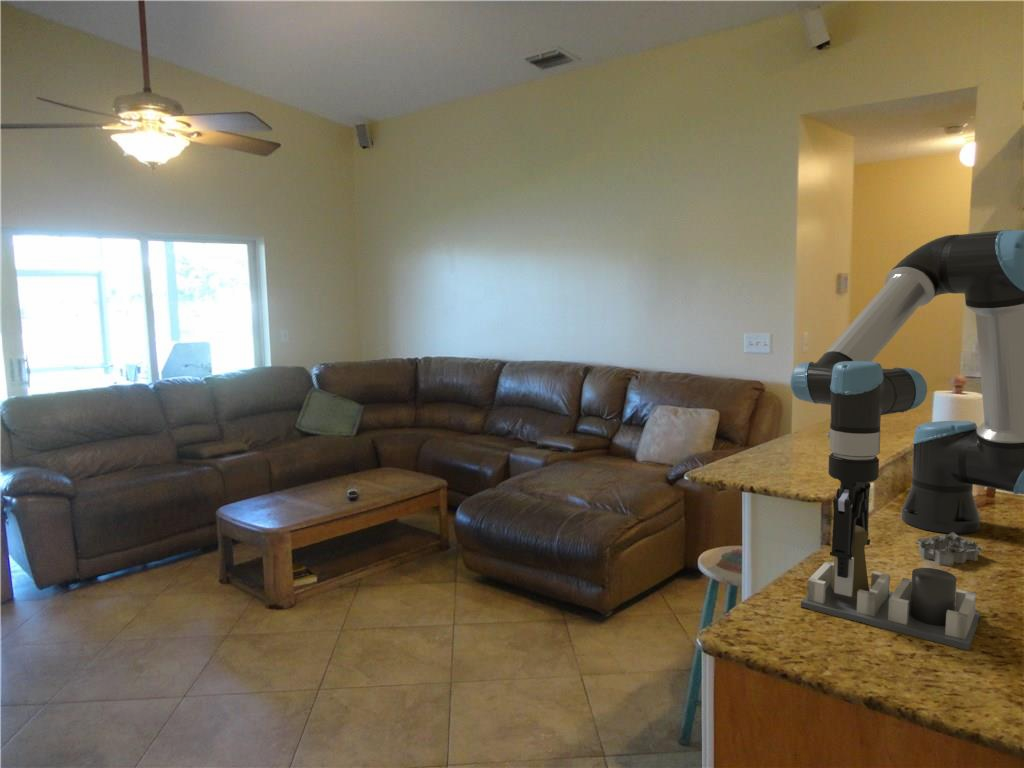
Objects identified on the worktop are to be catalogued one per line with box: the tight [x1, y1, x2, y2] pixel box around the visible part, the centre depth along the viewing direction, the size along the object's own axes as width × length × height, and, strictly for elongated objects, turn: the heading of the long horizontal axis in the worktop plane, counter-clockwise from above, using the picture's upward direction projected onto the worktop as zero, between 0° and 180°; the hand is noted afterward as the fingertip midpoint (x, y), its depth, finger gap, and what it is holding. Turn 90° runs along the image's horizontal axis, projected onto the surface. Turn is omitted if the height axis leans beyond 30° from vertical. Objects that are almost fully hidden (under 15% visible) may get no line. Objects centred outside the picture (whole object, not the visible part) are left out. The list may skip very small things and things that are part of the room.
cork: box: [830, 525, 870, 596], centre depth 119 cm, size 6×6×11 cm
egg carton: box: [915, 532, 984, 567], centre depth 138 cm, size 11×8×4 cm
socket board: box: [800, 560, 981, 652], centre depth 115 cm, size 13×24×8 cm, turn 50°
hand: (848, 586), depth 119 cm, fingers closed on cork, 6 cm apart
